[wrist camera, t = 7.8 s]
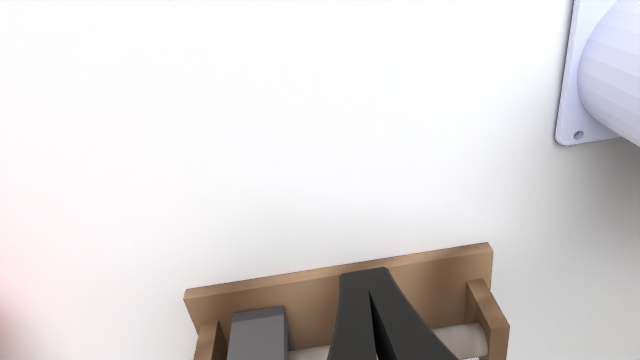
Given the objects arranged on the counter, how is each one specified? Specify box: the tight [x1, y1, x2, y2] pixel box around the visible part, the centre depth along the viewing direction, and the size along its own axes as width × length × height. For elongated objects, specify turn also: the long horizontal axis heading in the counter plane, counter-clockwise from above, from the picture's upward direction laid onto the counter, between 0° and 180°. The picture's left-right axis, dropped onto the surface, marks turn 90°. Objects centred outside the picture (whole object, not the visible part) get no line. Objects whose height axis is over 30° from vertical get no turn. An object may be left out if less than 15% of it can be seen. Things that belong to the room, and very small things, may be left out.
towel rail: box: [183, 242, 510, 360], centre depth 26 cm, size 18×8×4 cm, turn 98°
